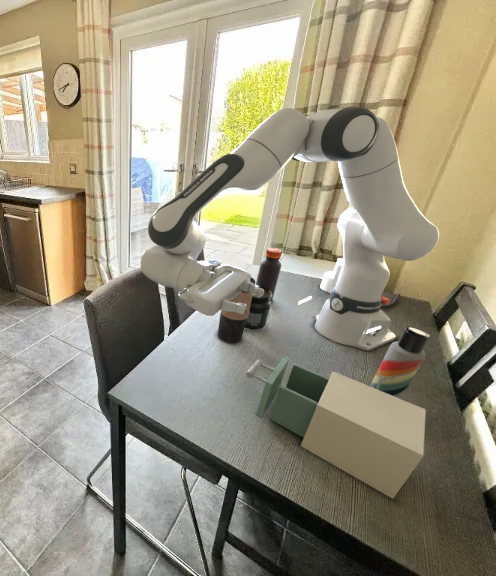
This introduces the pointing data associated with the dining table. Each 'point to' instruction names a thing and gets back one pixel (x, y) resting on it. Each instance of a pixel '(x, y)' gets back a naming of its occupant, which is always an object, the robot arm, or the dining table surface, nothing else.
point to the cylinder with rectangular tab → (331, 277)
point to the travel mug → (234, 319)
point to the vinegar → (269, 270)
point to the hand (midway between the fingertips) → (254, 301)
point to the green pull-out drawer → (290, 394)
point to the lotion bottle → (401, 363)
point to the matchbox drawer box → (367, 433)
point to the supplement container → (259, 310)
